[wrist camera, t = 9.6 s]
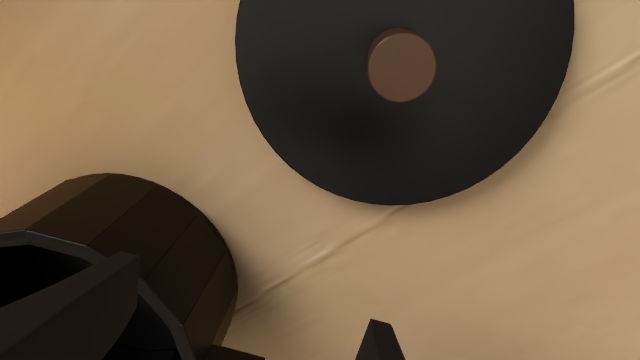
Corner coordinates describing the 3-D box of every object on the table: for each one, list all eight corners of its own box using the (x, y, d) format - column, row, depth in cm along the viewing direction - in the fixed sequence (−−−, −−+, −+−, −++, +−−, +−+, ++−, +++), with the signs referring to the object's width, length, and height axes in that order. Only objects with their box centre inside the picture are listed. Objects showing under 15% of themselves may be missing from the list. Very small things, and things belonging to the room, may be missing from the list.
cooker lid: (486, 225, 21) (514, 276, 17) (223, 158, 21) (190, 194, 17) (629, -88, 16) (720, -120, 12) (270, -176, 16) (236, -238, 12)
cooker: (262, 384, 27) (233, 487, 22) (-3, 315, 28) (-102, 398, 22) (302, 219, 22) (278, 295, 16) (-25, 135, 22) (-165, 181, 17)
